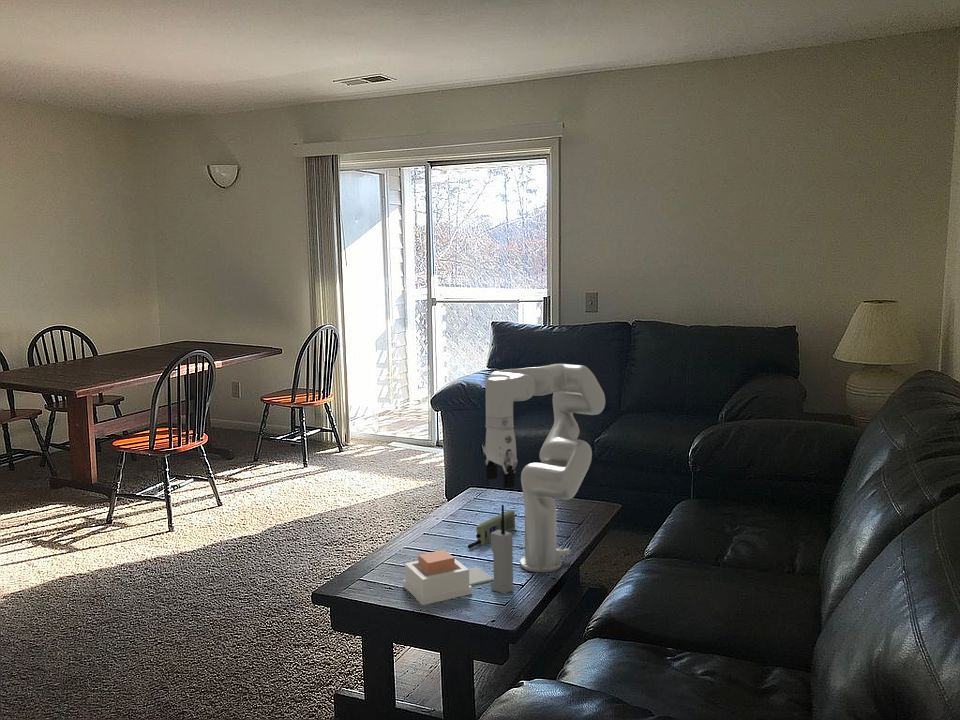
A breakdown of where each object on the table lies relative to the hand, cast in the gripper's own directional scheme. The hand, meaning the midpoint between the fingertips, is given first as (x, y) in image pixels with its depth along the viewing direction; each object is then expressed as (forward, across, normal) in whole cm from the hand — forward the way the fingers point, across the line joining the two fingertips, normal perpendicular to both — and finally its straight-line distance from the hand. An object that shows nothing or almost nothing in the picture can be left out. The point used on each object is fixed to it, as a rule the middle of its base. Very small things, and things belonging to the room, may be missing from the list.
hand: (500, 482), depth 222 cm
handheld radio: (+32, +38, -17) cm, 52 cm away
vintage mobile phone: (+31, 0, 0) cm, 31 cm away
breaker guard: (+31, +9, +16) cm, 36 cm away
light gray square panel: (+31, +12, +4) cm, 34 cm away
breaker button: (+24, +9, +16) cm, 30 cm away
